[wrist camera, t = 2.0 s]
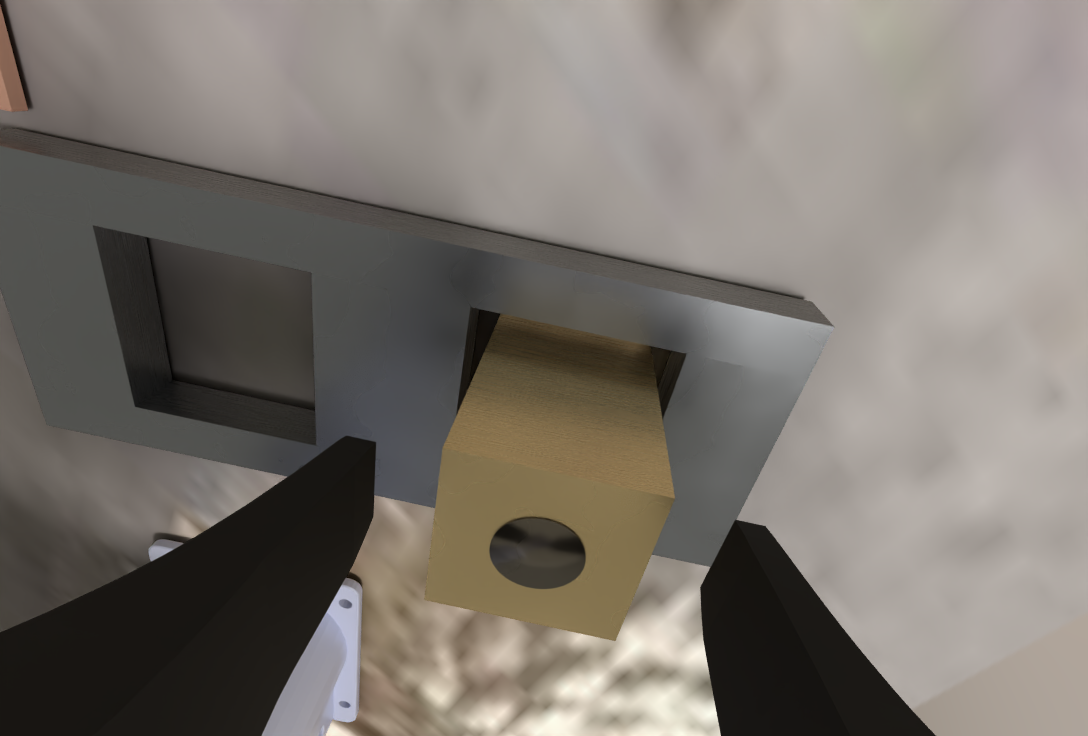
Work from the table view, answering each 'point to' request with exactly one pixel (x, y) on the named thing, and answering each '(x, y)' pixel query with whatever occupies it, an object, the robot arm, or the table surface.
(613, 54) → the table surface
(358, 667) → the robot arm
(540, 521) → the cube with round inset
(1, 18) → the terracotta mat
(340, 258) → the metal rail
